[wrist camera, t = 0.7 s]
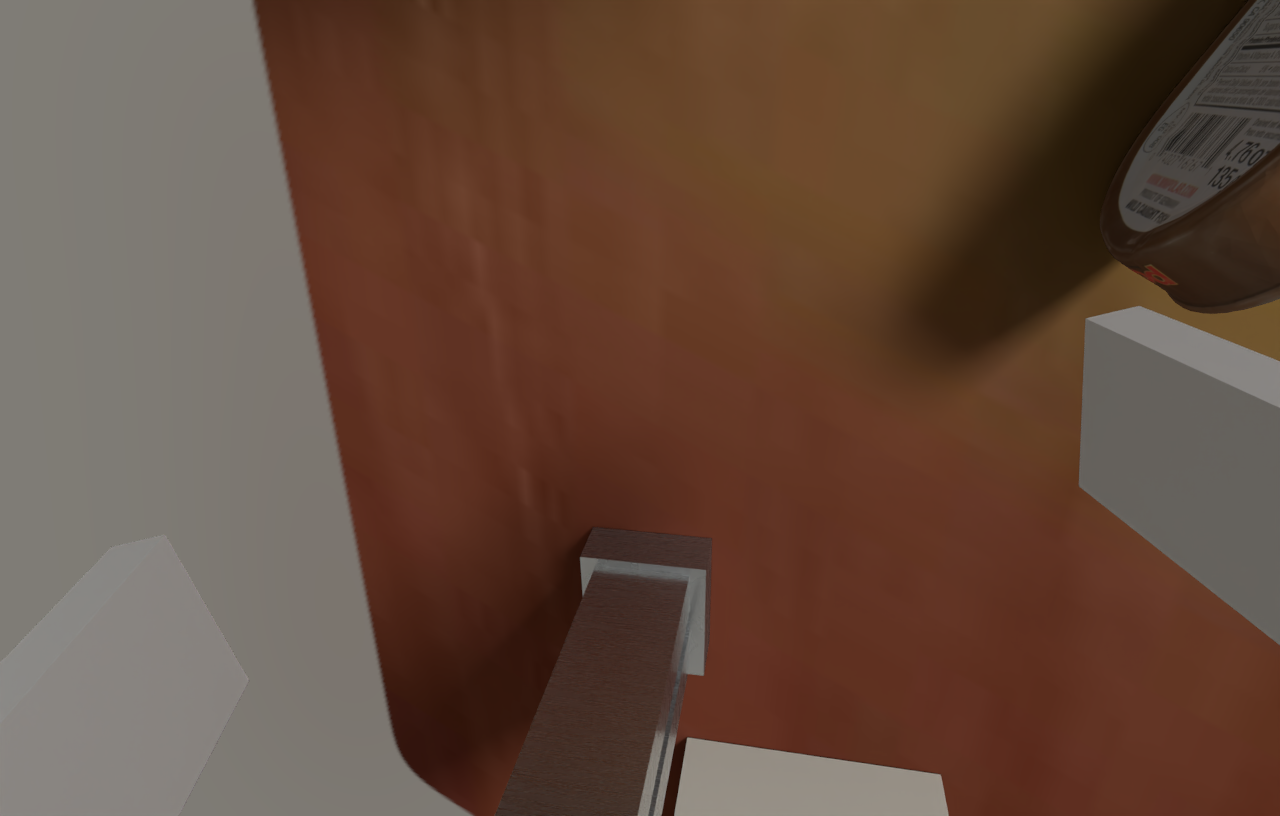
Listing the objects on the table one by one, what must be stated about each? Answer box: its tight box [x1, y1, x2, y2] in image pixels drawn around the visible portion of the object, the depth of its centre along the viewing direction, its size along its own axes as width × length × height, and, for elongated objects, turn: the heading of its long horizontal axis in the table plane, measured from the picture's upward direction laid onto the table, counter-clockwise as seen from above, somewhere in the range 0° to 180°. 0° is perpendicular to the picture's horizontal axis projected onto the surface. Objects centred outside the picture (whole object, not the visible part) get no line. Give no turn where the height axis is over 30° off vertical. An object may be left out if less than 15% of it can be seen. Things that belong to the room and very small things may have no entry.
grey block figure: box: [495, 527, 712, 816], centre depth 22 cm, size 5×5×20 cm
